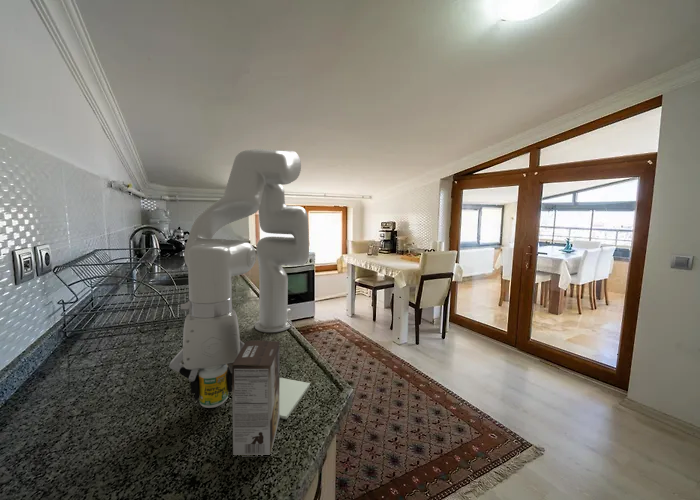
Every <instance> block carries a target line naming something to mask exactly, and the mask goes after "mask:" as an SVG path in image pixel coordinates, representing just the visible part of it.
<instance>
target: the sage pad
mask: <svg viewBox="0 0 700 500" xmlns="http://www.w3.org/2000/svg"><path fill="white" fill-rule="evenodd" d="M310 386H311V383H310V382H305V381H300V380H295V379H290V378H285V377H284V378H283V377H280V388H279V389H280V396H279V416H280V418H279V419H283V420H287V419H288V418H289V416H290V415H291V414H292V412H293V411H294V409H295V408H296V407H297V405H298V404H299V402H300V401H301V400H302V398H303V396H304V395H305V393H306V392H307V390H308V389H309V388H310Z"/></svg>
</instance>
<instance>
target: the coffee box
mask: <svg viewBox="0 0 700 500" xmlns="http://www.w3.org/2000/svg"><path fill="white" fill-rule="evenodd" d="M244 343H245V344H244V345H243V347H242V349H241V350H240V352H239V354H238V356H237V357H236V359H235V361H234V362H233V364H232V392H231V393H232V394H231V395H232V396H231V397H232V456H233V455H257V456H256V457H259V456H258V455H261V456H260V457H264V456H263V455H270V454H271V455H272V453H273V452H272V451H273V449H274V444H275V443H274V442H275V439H276V434H277V431H278V426H279V422H280V419H281V418H280V416H279V396H280V389H279V388H280V378H281V377H280V371H281V370H280V369H281V367H280V366H281V365H280V357H281V354H280V347H281V345H280V340H273V341H269V340H261V339H260V340H246V341H244ZM272 448H273V449H272ZM271 452H272V453H271ZM271 455H270V456H271Z"/></svg>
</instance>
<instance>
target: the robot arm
mask: <svg viewBox="0 0 700 500" xmlns="http://www.w3.org/2000/svg"><path fill="white" fill-rule="evenodd" d="M301 169H302V162H301V158H300V156H299V154H298V153H297V151H295V150H285V149H283V150H282V149H261V148H258V149H256V148H255V149H247V150H242V151H240V152H239V153H238V154H236V156H235V157H234V160H233V163H232V166H231V170H230V173H229V175H228V176H229V177H228V180H227V184H226V187H225V190H224V194H223V196H222V197H221V198H219V199H217V200H216V201H215V202H213V204H211V205H209V207H207V208H206V209H205V210H204V211H203V212H202V213H201V214H200V215H198V217H197V218H196V219H195V220H194V222H193V224H192V226H191V228H190V231H189V234H188V237H187V241H186V244H185V247H184V252H183V254H184V255H183V257H184V263H185V265H186V267H187V274H188V275H187V276H188V299H189V300H188V301H187V302H185V303H180V311H181V312H183V311H185V312H187V313H188V314H187V315H186V316H185V319H184V324H183V333H182V348H181V350H180V351H178V353H177V354H176V355H175V356H174V357H173V358H172V360H171V361H170V362H169V366H168V367H169V369H171V370H172V371H175V372H177V373H179V374H180V375H181V376H183V377H184V378H186V379H188V381H189V382H190V395H193V394H194V401H195V400H198V399H199V378H198V372H199V369H201V368H206V367H212V366H218V365H223V364H227V365H228V369H227V374H228V393H232V364H233V362H234V361H235V359H236V357H237V356H238V354H239V352H240V350H241V349H242V347H243V345H244V344H245V342H243V341H242V340H241V338H240V336H241V335H240V327H239V320H238V319H239V318H238V316H237V315H238V314H237V312H236V310H235V309H233V301H232V300H233V299H232V298H233V297H232V277H235V276H240V275H244V274H247V273H248V272H250V270H252V268H253V267H254V265H255V263H256V260H257V261H258V271H259V272H258V273H259V274H258V275H259V277H258V278H259V280H258V281H259V307H258V308H259V310H258V311H259V317H258V318H259V319H258V320H256V321H255V323H254V328H255V330H256V331H259V332H261V333H262V332H263V333H279V332H284V331H286V330H288V329H290V328H291V327H292V323H293V322H292V320H291V319H290V318H288V314H290V313H291V312H292V310H291V308H288V301H289V300H288V299H289V298H288V297H289V296H288V295H289V294H288V290H289V289H288V285H289V283H288V281H289V277H288V274H287V272H286V270H285V269H284V267H283V266H302V265H305V264H306V263H307V262H308V260H309V255H310V254H309V253H310V252H309V251H310V240H309V239H310V237H309V234H310V233H309V216H308V212H307V210H306V209H305V208H304V207H302V206H300V205H289V204H288V205H287V204H286V199H285V189H284V186H283V185H285V186H286V185H289V184H291V183H294V182H295V181H296V180H297V179H298V178H299V176H300V174H301V171H302V170H301ZM257 212H258V221H259V222H258V223H259V227H260V229H261V231H262V232H264V233H266V234H273V235H274V234H275V235H278V234H279V235H292V236H293V237H288V236H287V237H286V236H265V237H262V238H261V239H259V240H258V241H257V244H256V248H255V246H253V245H252V243H250V242H248V241H246V240H242V239H241V240H240V239H225V238H213V237H214V236H215V234H217V232H218V231H219V230H220V229H222V228H223V227H225V226H227V225H229V224H232V223H235V222H237V221H240V220H242V219H245V218H248V217H250V216H252V215H254V214H256V213H257ZM287 321H288V322H289V323H290V324H291V325H290V324H289V323H288V322H287ZM290 326H291V327H290ZM182 362H183V363H182Z"/></svg>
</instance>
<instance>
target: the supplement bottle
mask: <svg viewBox="0 0 700 500" xmlns="http://www.w3.org/2000/svg"><path fill="white" fill-rule="evenodd" d="M198 378H199V398H198V399H199V405H201V406H202V407H203V408H208V409H210V408H216V407H220V406H221V405H223V404H224V403H225V402H226V401H227V399H228V397H229V392H228V374H227V365H226V364H223V365H218V366H212V367H206V368H201V369H199V370H198Z"/></svg>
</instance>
